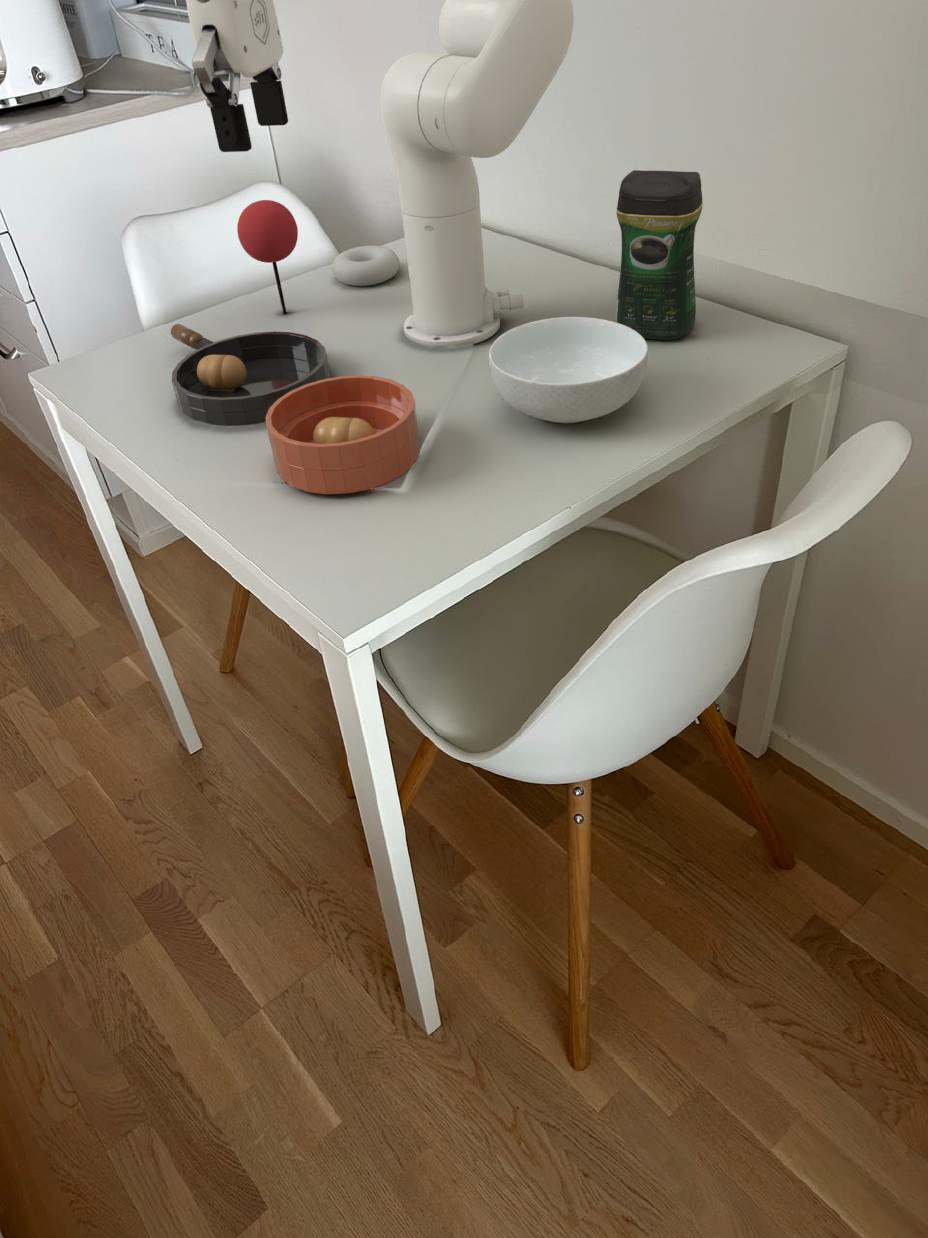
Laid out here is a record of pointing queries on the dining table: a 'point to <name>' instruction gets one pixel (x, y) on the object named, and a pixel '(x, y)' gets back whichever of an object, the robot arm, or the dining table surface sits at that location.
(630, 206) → the coffee jar
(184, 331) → the skillet handle
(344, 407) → the bowl
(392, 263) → the donut
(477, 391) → the dining table surface
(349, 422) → the potato
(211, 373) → the potato
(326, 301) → the dining table surface
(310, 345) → the skillet
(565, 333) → the cereal bowl
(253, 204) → the lollipop
